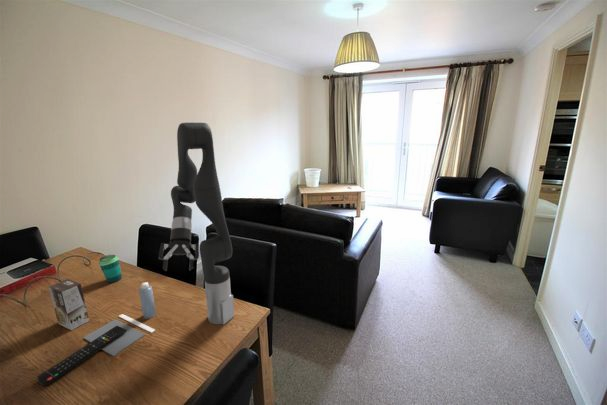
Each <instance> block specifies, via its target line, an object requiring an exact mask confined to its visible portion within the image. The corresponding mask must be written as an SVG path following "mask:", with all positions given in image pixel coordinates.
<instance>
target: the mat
mask: <svg viewBox="0 0 607 405" xmlns="http://www.w3.org/2000/svg"><path fill="white" fill-rule="evenodd" d="M115 326H119V327H121V328H124V329H126V332H125V333H123V334H122V335H120V336H119V337H117V338H116V339H115V340H113V341H112V342H110V343H109V344H107V345H106V346H104V347H103V348H101V349H100V350H101V351H104V352H105V353H106V354H109V355H110V356H112V357H116V356H117V355H118V354H120V353H121V352H123V351H124V350H125V349H128V348H129V347H130V346H132V345H133V344H135V343H136V342H138V341H139V340H141V339H142V338H144V337H145V336H146V334H145V333H144V332H142V331H140V330H138V329H135V328H133V327H132V326H129V325H128V324H126V323H124V322H121V321H120V320H118V319H116V318H115V319H113V320H112V321H110V322H108V323H107V324H105V325H102V326H101V327H99V328H97V329H96V330H94V331H92V332H91V333H89V334H86V335H85V336H83V339H84V340H85V341H87V342H89V343H90V342H92V341H93V340H95V339H97V338H98V337H100V336H101V335H103V334H104V333H106V332H107V331H109V330H111V329H112V328H114V327H115Z"/></svg>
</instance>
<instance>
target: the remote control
mask: <svg viewBox="0 0 607 405" xmlns="http://www.w3.org/2000/svg"><path fill="white" fill-rule="evenodd" d="M125 332H126V329H124V328H121V327H119V326H115V327H114V328H112V329H111V330H109V331H107V332H106V333H104V334H103V335H101V336H100V337H98V338H97V339H95V340H93V341H92V342H89V343H87V344H85V345H84V346H83V347H81V348H79V349H78V350H77V351H74V352H73V353H72V354H71V355H69V356H67V357H65V358H63V359H62V360H61V361H59V362H58V363H56V364H55V365H53V366H51V367H50V368H49V369H47V370H45V371H44V372H42V373H41V374H39V375H38V376H37V381H38V382H39V384H40V385H41V386H43V387H46V386H50V384H51V383H53V382H55V381H56V380H58V379H59V378H60V377H62V376H63V375H65V374H66V373H68V372H69V371H71V370H72V369H73V368H75V367H77V366H78V365H79V364H81V363H82V362H84V361H86V360H87V359H88V358H90V357H91V356H92V355H94V354H95V353H97V352H98V351H101V350H102V349H101V348H103V347H104V346H106V345H107V344H109V343H110V342H112V341H113V340H115V339H116V338H117V337H119V336H120V335H122V334H123V333H125Z"/></svg>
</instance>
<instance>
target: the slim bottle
mask: <svg viewBox="0 0 607 405" xmlns="http://www.w3.org/2000/svg"><path fill="white" fill-rule="evenodd" d="M140 285H141V286H140V287H139V289H138V292H139V293H138V294H139V298H140V305H141V309H142V315H143V316H142V317H143V319H144V320H145V319H147V320H149V319H152V318H153V317H155V316H157V311H156V306H155V305H156V304H155V298H154V293H153V286H152V285H149V282H148V281H145V282H142V283H141V284H140Z"/></svg>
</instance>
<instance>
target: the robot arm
mask: <svg viewBox="0 0 607 405" xmlns="http://www.w3.org/2000/svg"><path fill="white" fill-rule="evenodd" d="M176 135H177V136H176V141H177V142H176V143H177V159H178V171H177V178H176V179H177V180H176V184H177V185H174V186H173V187H172V188H171V190H170V197H171V202H172V205H173V207H172V208H173V215H172V222H171V227H170V228H171V230H170V239H169V240H170V241H169V243H164V242H160V247H159V251H158V260H161V261H163V262H162V269H163V270H164V271H165V272H167V271H168V263H169V261H168V260H169V259H170V258H171V257H172V256H173V255H174V256H184V255H186V257H187V258H188V259H189V262H188V263H189V265H188V270H189V271H192V270H193V269H194V263H195V262H194V261H195V260H199V258H200V260H201V266H202V267H201V268H202V274H203V279H204V290H205V300H206V308H207V319H208V322H209V323H210V324H212V325H225V324H227V323H228V322H229V321H230V320H231V319H233V318H234V317H235V304H234V294H232V292H231V291H232V290H231V277H230V275H231V274H230V270H229V269H228V267H227V266H224V265H215V264H217V263H220V262H223V261H227V260H229V259H230V258H232V256H233V246H232V245H233V244H232V240H231V237H230V236H231V235H230V232H229V229H228V225H227V221H226V217H225V212H224V205H223V199H222V192H221V188H220V182H219V178H218V172H217V166H216V158H215V150H214V138H213V133H212V129H211V127H210V125H209V124H208V123H206V122H181V123H179V125H178V126H177V132H176ZM200 149H201V151H202V157H201V158H202V160H201V164H200V168H199V169H198V168H197V165H196V164H195V162H193V160H192V158H191V157H190V155H189V150H200ZM184 203H185V204H184ZM194 203H195V204H196V206H197V208H198V209H199V211H201V213H202V214H203V215H205V217H206V218H207V219H208V220H209V221H210V222H211V223H212V225H213V227H214V229H215V233H216V235H217V236H215V237H210V238H206V239H204V240H201V241H200V244H199V243H198V242H197V243H195V244H193V243H191V242H192V230H193V229H192V218H193V217H192V216H193V209H192V207H191V206H189V205H187V204H194ZM167 248H168V249H169V251H168V252H167V253H166V254H165V256H164V250H166V249H167ZM191 249H193V250H194V255H193V254H192V253H191Z"/></svg>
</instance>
